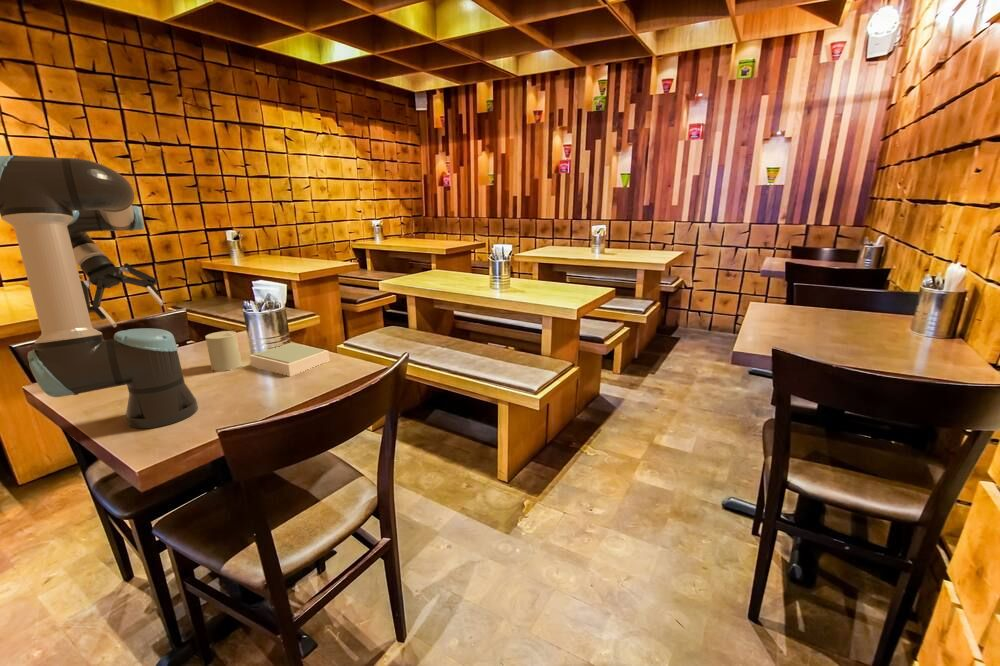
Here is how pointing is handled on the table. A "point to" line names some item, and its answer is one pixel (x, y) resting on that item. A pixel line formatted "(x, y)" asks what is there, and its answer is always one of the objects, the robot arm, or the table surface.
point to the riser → (289, 359)
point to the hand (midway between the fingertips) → (139, 314)
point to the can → (223, 350)
